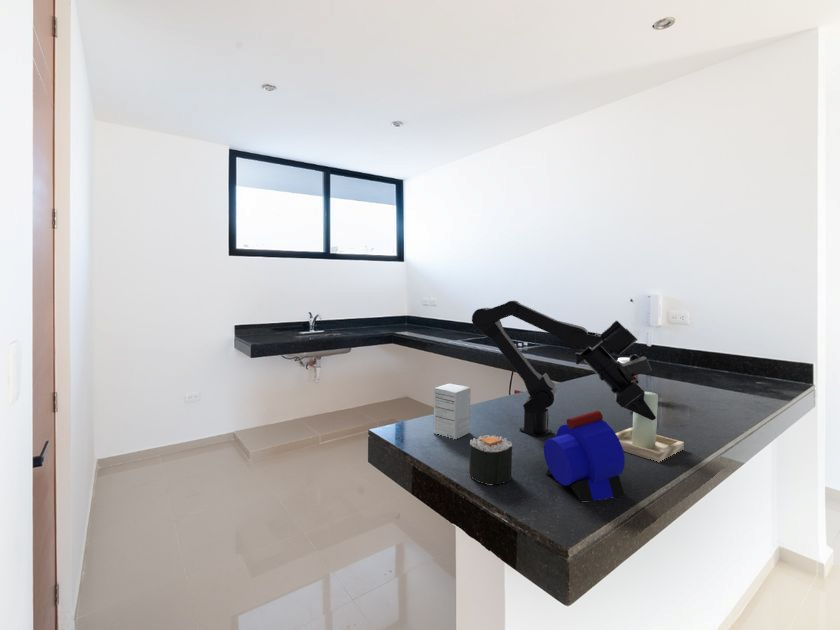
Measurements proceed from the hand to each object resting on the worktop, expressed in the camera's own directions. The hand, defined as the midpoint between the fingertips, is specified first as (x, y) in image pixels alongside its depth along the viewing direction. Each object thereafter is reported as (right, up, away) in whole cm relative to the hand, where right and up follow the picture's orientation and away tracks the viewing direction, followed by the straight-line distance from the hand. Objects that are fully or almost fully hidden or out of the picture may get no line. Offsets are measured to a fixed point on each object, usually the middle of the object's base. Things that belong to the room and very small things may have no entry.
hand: (651, 413), depth 103 cm
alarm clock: (-25, -10, -19) cm, 34 cm away
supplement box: (-49, -8, +9) cm, 50 cm away
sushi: (-43, -9, -16) cm, 47 cm away
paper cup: (+19, -6, +51) cm, 55 cm away
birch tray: (-1, -9, +1) cm, 9 cm away
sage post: (-1, -8, +1) cm, 8 cm away
